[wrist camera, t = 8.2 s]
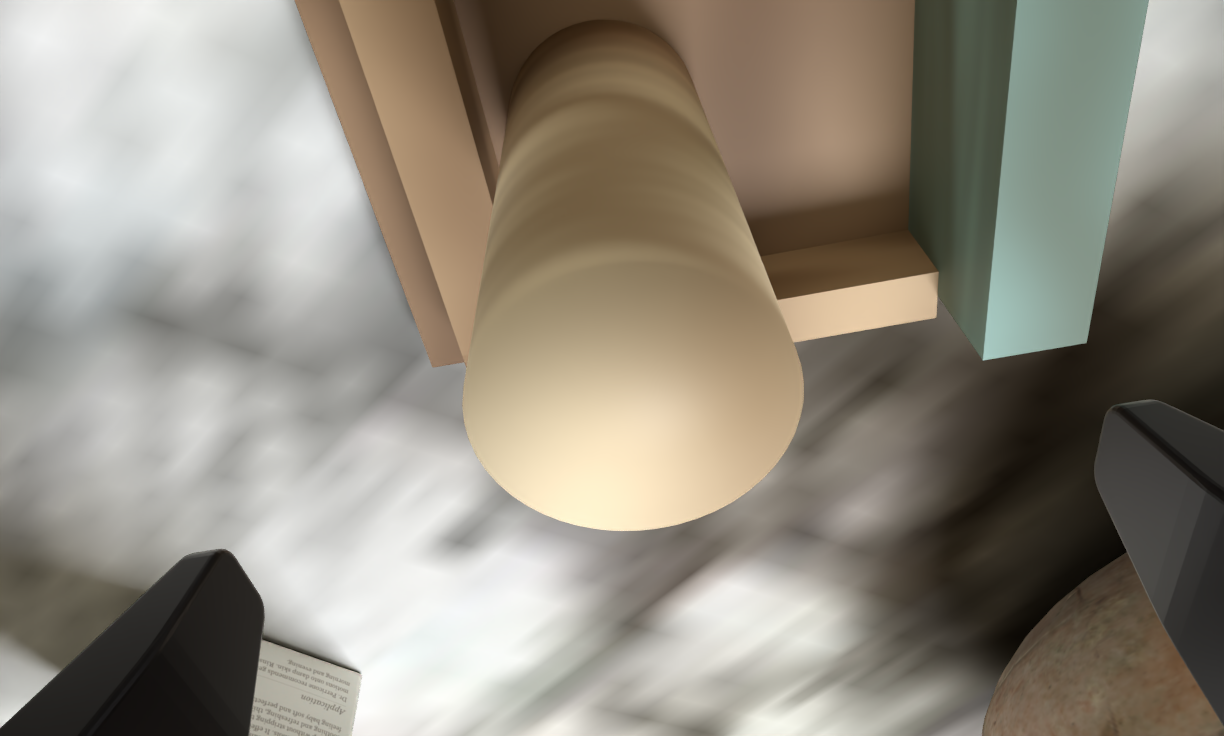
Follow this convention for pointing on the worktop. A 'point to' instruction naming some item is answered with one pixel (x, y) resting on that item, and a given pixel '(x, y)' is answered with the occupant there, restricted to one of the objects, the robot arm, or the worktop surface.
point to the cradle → (782, 147)
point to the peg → (623, 298)
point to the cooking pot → (1100, 670)
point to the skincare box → (302, 695)
